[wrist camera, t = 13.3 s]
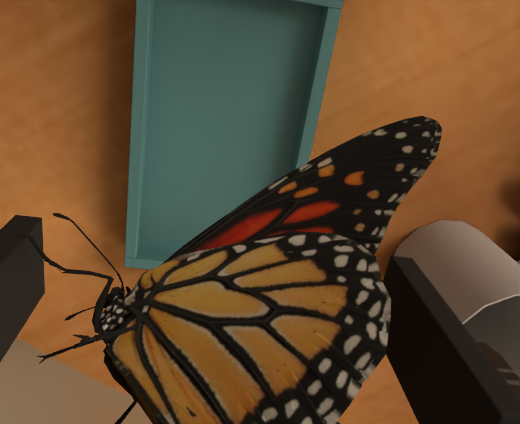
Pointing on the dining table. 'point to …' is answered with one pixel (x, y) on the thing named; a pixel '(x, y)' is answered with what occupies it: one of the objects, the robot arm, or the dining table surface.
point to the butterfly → (268, 295)
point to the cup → (472, 282)
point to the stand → (218, 110)
